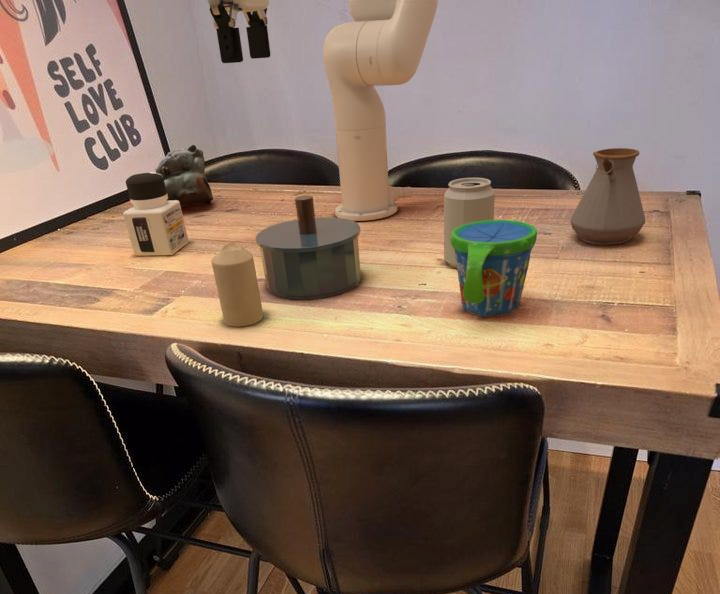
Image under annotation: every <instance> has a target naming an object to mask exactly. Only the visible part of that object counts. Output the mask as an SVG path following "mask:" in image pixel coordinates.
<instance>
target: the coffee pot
mask: <svg viewBox="0 0 720 594" xmlns="http://www.w3.org/2000/svg"><path fill="white" fill-rule="evenodd" d="M639 155H640V150H638V149H635V148H628V147H627V148H625V147H613V148H612V147H611V148H604V149H600V150H596V151H593V153H592V156H594V158H595V161H596V165H595V172H594V174H593V175H592V178H591V179H590V181H589V183H588V185H587V187H586V189H585V191H584V192H583V194H582V197H580V200H579V202H578V204H577V206H576V207H575V209H574V211H573V213H572V215H571V218H570V225H571V228H572V229H573V231H574V232H575V234H576V235H577V236H579V237H580V239H581V241H583V242H585V243H588V244H593V245H601V246H610V245H619V244H620V245H621V244H623V243H626V242H628V241H629V240H631V238H632V237H634V236H636V235H637V234H638V233H639V232H640V231H641V230H642V229H643V227H644V226H645V224H646V216H645V212H644V207H643V203H642V199H641V195H640V191H639V187H638V183H637V179H636V175H635V171H634V163H635V161H636V159H637V157H638V156H639Z"/></svg>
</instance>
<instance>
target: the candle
mask: <svg viewBox="0 0 720 594" xmlns="http://www.w3.org/2000/svg"><path fill="white" fill-rule="evenodd" d="M210 263H211V266H212V271H213V276H214V281H215V285H216V290H217V294H218V299H219V303H220V310H221V313H222V317H223V321H224V323H225V324H226V325H227V326H230V327H247V326H251V325H254V324H257V323H258V322H260V321H262V319H263V318H264V312H263V305H262V301H261V300H262V299H261V294H260V289H259V282H258V277H257V271H256V264H255V260H254V254H253V253H252V252H251V251H249V249H247V248H245V246H243V245H240V246H239V245H237V244H236V243H234V242H230V243H227V244H225V245H224V246H222V248H221V249H220V250H219V251H217V252H216V253H215V254H214V255H213V257H212V258H211V260H210Z"/></svg>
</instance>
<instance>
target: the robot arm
mask: <svg viewBox="0 0 720 594" xmlns="http://www.w3.org/2000/svg"><path fill="white" fill-rule="evenodd" d="M207 3H208V5H209V13H210V15H211V16H212V18H213V26H214V29H215V30H216V36H217V42H218V50H219V55H220V60H221V63H222V64H235V63H242V62H244V55H243V50H242V49H243V48H242V39H241V34H240V27H236V25H237V19H238V18H237V17H238V12H242V13H243V16H244V18H245V20H246V22H247V25H248V26H246V36H247V44H248V50H249V57H250V59H253V60H254V59H267V58H270V57H271V48H270V47H271V46H270V39H269V31H268V23H269V21H268V16H267V11H268V7H269V4H270V0H207ZM438 3H439V0H348V9H349V13H350V15H351V18H352V19H353V21H349V22H344V23H340V24H337V25H336V26H335V27H333V28H332V29H331V30H330V31H329V32H328V33H327V35H326V37H325V39H324V42H323V46H322V60H323V65H324V71H325V74H326V78H327V81H328V85H329V89H330V96H331V101H332V107H333V117H334V127H335V128H334V130H335V139H336V150H337V151H336V152H337V163H338V173H339V185H340V197H341V204H340V205H338V206H336V207H335V209H334V214H335V217H336V218H343V219H348V220H352V221H354V222H363V221H365V222H366V221H374V220H375V221H376V220H379V219H384V218H388V217H390V216H392V215H394V214H396V212H398V204H397V203H396V202H398V200H399V199H407V198H412V196H413V189H412V187H411V186H405V187H401V186H397V187H394V186H391V185H389V167H388V146H387V143H388V141H387V126H386V125H387V122H386V121H387V120H386V110H385V107H384V103H383V100H382V99H381V97H380V95H379V93H378V92H377V89H376V87H377V86H380V87H381V86H382V87H383V86H400V85H404V84H406V83H408V82H409V81H411V80H412V79H413V77H414V76H415V74H416V72H417V71H418V68H419V65H420V62H421V59H422V56H423V53H424V51H425V48H426V44H427V41H428V37H429V35H430V32H431V29H432V26H433V22H434V20H435V16H436V13H437V8H438Z"/></svg>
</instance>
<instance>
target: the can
mask: <svg viewBox="0 0 720 594" xmlns="http://www.w3.org/2000/svg"><path fill="white" fill-rule="evenodd" d="M491 184H492V180H490V179H489V178H484V177H462V178H457V179H454V180H451V181H449V182H448V184H447V186H448V189H447V190H446V191H445V192H444V194H443V260H445V262H447V263H448V265H449V266H450V267H452V268H456V269H457V263H456V255H455V250H454V248H453V247H452V244H451V242H450V238H451V236H452V231H453V230H454V229H455V228H457V227H459V226H461V225H464V224H467V223H471V222H477V221H484V220H495V218H494V217H495V199H496V197H495V195H496V191H495V190H494V188H493V187H492V186H491Z"/></svg>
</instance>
